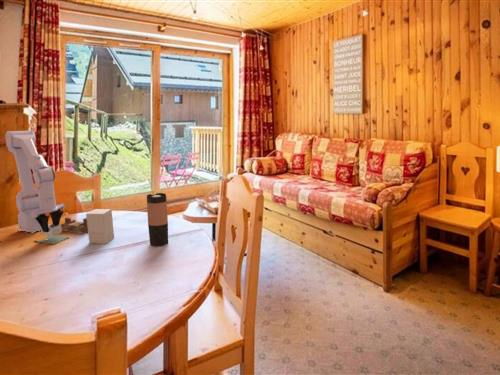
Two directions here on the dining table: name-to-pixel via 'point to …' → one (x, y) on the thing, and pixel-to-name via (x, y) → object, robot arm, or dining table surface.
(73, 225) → the plane body
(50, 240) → the felt mat
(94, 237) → the supplement box
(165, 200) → the travel mug
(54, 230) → the lever cap
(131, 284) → the dining table surface
